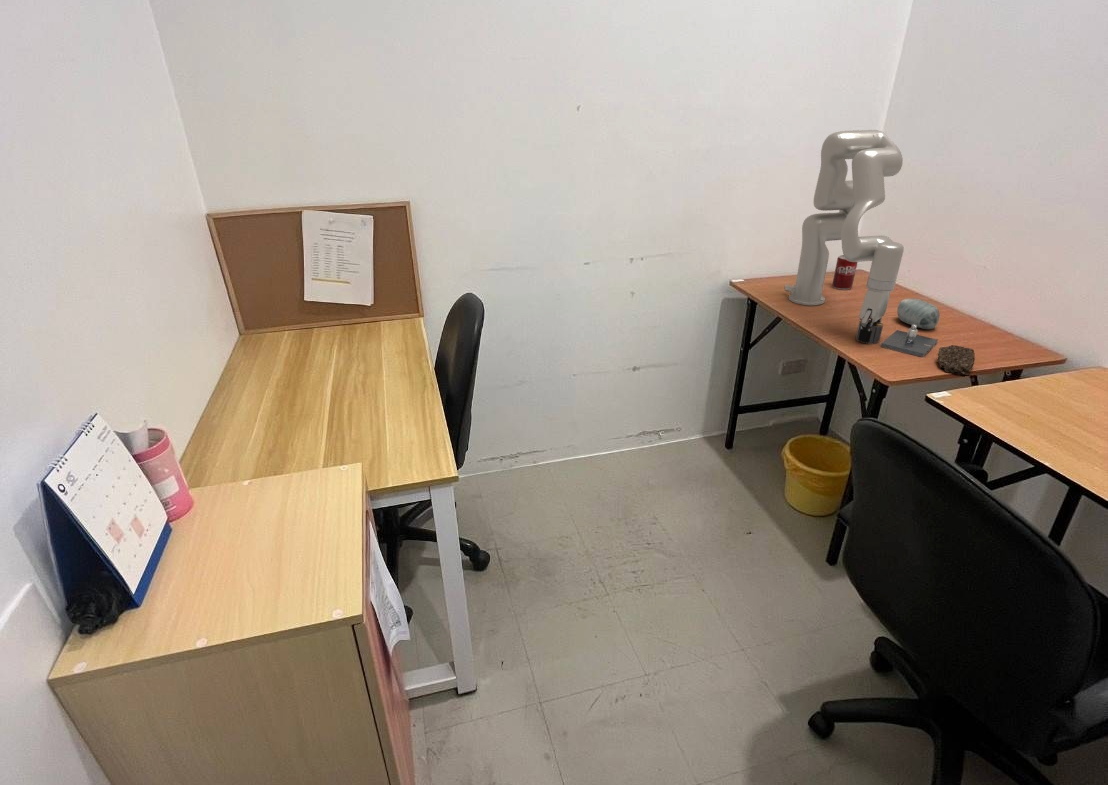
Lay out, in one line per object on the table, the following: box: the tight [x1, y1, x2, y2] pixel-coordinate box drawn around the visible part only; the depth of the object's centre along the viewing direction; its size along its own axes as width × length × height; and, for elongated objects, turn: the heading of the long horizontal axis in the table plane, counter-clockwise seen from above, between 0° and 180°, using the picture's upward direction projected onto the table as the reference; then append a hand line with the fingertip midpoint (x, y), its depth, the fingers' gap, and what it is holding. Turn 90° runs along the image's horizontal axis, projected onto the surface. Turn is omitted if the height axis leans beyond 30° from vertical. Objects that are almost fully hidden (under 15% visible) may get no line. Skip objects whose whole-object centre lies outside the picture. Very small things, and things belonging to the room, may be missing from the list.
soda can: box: [831, 254, 859, 291], centre depth 232 cm, size 7×7×12 cm
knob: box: [855, 319, 884, 345], centre depth 189 cm, size 7×7×6 cm
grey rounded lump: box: [897, 298, 940, 330], centre depth 198 cm, size 14×10×10 cm
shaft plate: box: [880, 324, 939, 358], centre depth 184 cm, size 12×14×7 cm
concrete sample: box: [937, 344, 976, 376], centre depth 171 cm, size 12×10×5 cm
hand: (867, 337), depth 190 cm, fingers closed on knob, 6 cm apart
